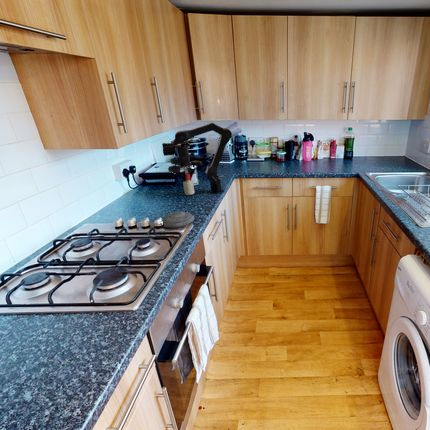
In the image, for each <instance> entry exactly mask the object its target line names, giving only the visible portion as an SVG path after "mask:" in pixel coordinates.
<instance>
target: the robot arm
mask: <svg viewBox="0 0 430 430" xmlns="http://www.w3.org/2000/svg"><path fill="white" fill-rule="evenodd" d="M209 132H215V133H216V134H218V135H219V142H218V146H217V147H216V151H215V153H214V156H213V159H212V162H211V164H210V166H209V165H207V166H206V169H205V171H204V172H205V177H206V179H207V180H208V181H209V186H210V190H208V191H209V193H213V194H219V193H222V192H225V191H224V189H222V182H221V177H220V176H219V175H218V168H219V166H220V163H221V161H222V158H223V154H224V151H225V149H226V146H227V145H228V143H230V140H231V139H232V137H233V132H232V131H231V130H230V129H229V128H227V127H221V126H220V125H217V124H216V123H214V122H209V123H208V124H204V125H201V126H197V127H194V128H192V129H186V130H178V131H176V132H175V135H174V139H173V141H172V142H162V143H161V145H162V154H163V156H164V157H167V156H175V154H177V156H176V158H174V157H173V158H170V164H171V165H169V166H168V168H167V171H168V172H169V173H173V174H174V173H176V174H177V173H178V174H179V175H180V176H181V179H182V180H183V182H184V181H186V176H185V171H184V168H187V170H188V173H190V177H191V179H192V176H193V173H194V171H195V169H197V168H200V167H202V162H201V161H200V160H192V161H190V159H191V155H189V149H188V148H189V147H191V145H192V144H191V143H189V142H188V141H189V140H191V139H192V138H194V137H198V136H200V135H203V134H207V133H209ZM195 166H196V168H195Z"/></svg>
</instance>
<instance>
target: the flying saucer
mask: <svg viewBox="0 0 430 430" xmlns="http://www.w3.org/2000/svg"><path fill="white" fill-rule="evenodd" d="M161 221H163V225H164V226H163V225H162V226H163V227H165V228H169V229H170V228H171V229H174V228H181V227H185V226H188V225H190V224H192V223H193V222H194V221H195V216H194V214H191V213H190V212H188V211H183V210H182V211H181V210H178V211H172V212H170V213H168V214H166V215H165V216H164V217H163V218H162V220H161Z"/></svg>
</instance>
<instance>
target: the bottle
mask: <svg viewBox="0 0 430 430" xmlns="http://www.w3.org/2000/svg"><path fill="white" fill-rule="evenodd" d="M182 185H183V190H184V195H186V196H189V195H191V196H192V195H194V194H195V193H196V191H195V185H193V181H192V180H188V181H184V180H183V182H182Z"/></svg>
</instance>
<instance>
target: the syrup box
mask: <svg viewBox="0 0 430 430" xmlns="http://www.w3.org/2000/svg"><path fill="white" fill-rule="evenodd" d="M195 168H196V169H195V171H194V173H193V176H192V179H191V180H192V181H193V185H194V186H197V185H199V184H200V182H199V177H198V176H199V175H198V169H197V166H195ZM183 170H184V171H185V173H188V170H187V168H183Z"/></svg>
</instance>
